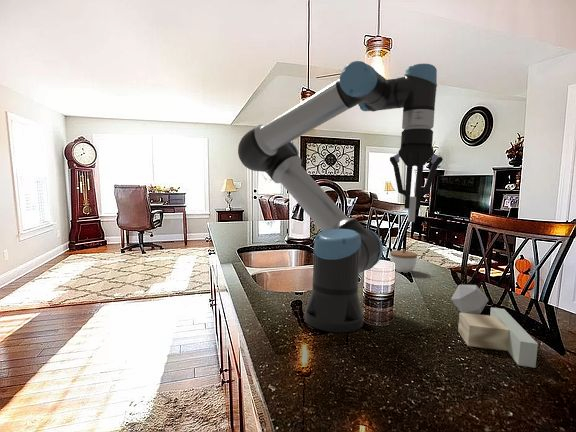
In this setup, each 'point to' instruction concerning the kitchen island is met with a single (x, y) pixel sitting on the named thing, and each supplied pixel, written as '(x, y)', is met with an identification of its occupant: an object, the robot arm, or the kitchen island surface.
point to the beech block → (483, 331)
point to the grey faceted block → (469, 299)
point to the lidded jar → (403, 260)
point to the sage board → (518, 340)
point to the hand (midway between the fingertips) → (411, 221)
